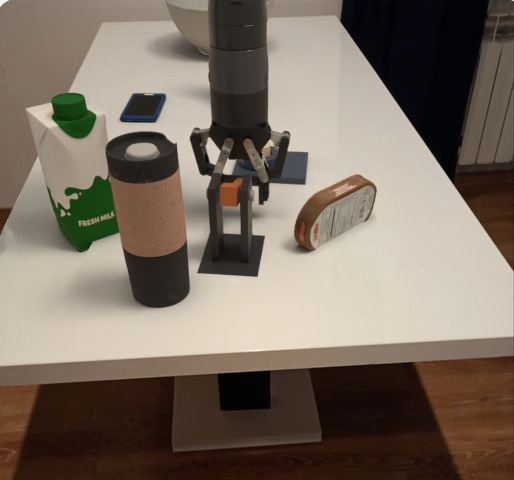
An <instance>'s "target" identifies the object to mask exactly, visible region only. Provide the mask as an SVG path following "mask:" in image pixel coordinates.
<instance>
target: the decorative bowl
mask: <svg viewBox="0 0 514 480" xmlns="http://www.w3.org/2000/svg"><path fill="white" fill-rule="evenodd" d="M164 1H165V5H166V8H167V11H168V13H169V15H170V18H171V20H172V22H173V24H174V25H175V27H176V29H177V30H178V31H179V33H180V34H181V35H182V37H184V39H186V40H187V41H188V42H189V43H190V44H192V45H193V46H194V47H196V48H197V50H199V51H200V52H202V53H204V54H207V55H209V43H210V42H209V25H208V0H164ZM274 5H275V0H266V7H267V22H268V21H269V19H270V17H271V14H272V12H273V8H274ZM199 51H198V52H199ZM200 52H199V53H200ZM204 54H203V55H204ZM207 55H206V56H207Z"/></svg>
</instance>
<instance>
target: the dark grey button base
mask: <svg viewBox="0 0 514 480" xmlns="http://www.w3.org/2000/svg"><path fill="white" fill-rule="evenodd" d="M277 152H278V150H276V149H275V148H274V146H273V145H270V156H268V157H265V159H266V162H267V164H268V167H271V166H274V165H275V161H276V156H277ZM308 161H309V152H308V151H291V150H288V151H287V155H286V158H285V162H284V166H283V170H282V174H281V177H280V178H279V179H275V178H273V179H271V180H270V181H269V184H280V185H297V186H298V185H299V186H300V185H301V186H306V184H307V183H306V181H307V172H308V163H309V162H308ZM244 174H251V175H252V176H258V174H257V171H256V169H254V167H253V164H252V162H251V161H246V160H242V159H236V160H235V164H234V167H233V170H232V173H231V175H244ZM259 179H260V178H259Z"/></svg>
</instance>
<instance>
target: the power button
mask: <svg viewBox="0 0 514 480" xmlns="http://www.w3.org/2000/svg"><path fill="white" fill-rule="evenodd" d="M270 146H271V142H269V141H268V143H267V144H266V145H265V147H264V148H263V152H264V154H265V157H268V156H270Z"/></svg>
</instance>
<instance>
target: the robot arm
mask: <svg viewBox="0 0 514 480" xmlns="http://www.w3.org/2000/svg"><path fill="white" fill-rule="evenodd" d="M208 25H209V42H210V43H209V56H208V73H207V77H208V82H209V98H210V114H211V115H210V117H211V124H210V126H209V127H207V128H202V129H201V128H200V127H194V128H193V129H192V131H191V134H190V136H189V142H190V146H191V149H192V153H193V155H194V159H195V163H196V166H197V169H198V172H199V174H200V175H201V176H203V177H205V176H209V177H210V178H211V177H212V174H213V173H221V185H222V184H223V183H224V174H225V173H224V169H225V166H226V164H227V162H228V160H229V161H236V160H237V159H242V160H246V161H251V162H252V164H253V167H254V169H256V171H257V174H258V176H259V178H260V179H259V186H258V206H264V204H265V202H268V200H269V199H270V183H269V181H270V180H271V179H273V178H275V179H279V178H280V177H281V174H282V170H283V166H284V162H285V158H286V155H287V151H289V148H290V147H289V146H290V141H291V132H290V131H289V130H284V131H282V132H279V131H276V130H272V127H271V126H270V123H269V69H270V68H269V54H268V43H267V41H268V21H267V7H266V0H208ZM209 138H210V140H211V142H213V144H214V145H215V146H216V147H217V149H218V150H219V151H220V152H219V154H218V158H217V160H216V163H215V164H214V163H211V160H210V157H209V153H208V150H207V144H208V142H209ZM269 141H271V142H272V144H273V145H272V146H273V147H274V148H275V149H276V150H278V152H277V156H276V161H275V165H274V166H271V167H268V164H267V162H266V159H265V154H264V152H263V148H264V147H265V145H266V144H267V143H268V142H269Z"/></svg>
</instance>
